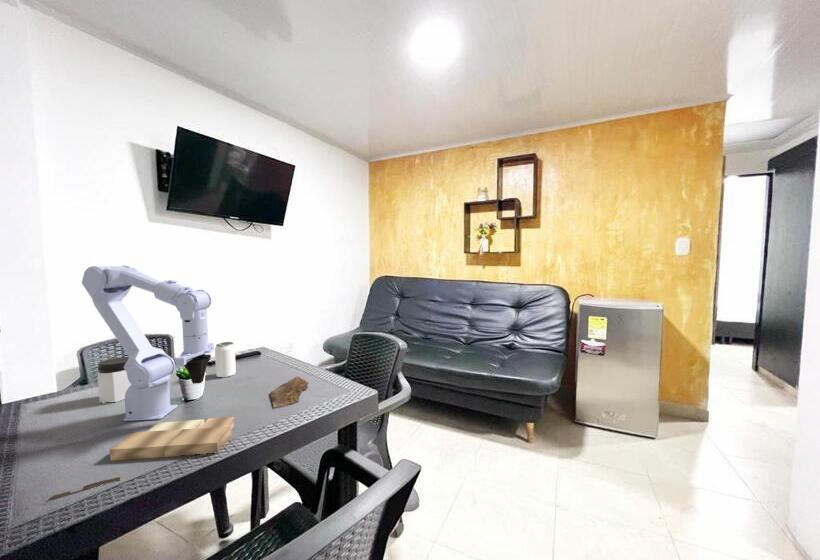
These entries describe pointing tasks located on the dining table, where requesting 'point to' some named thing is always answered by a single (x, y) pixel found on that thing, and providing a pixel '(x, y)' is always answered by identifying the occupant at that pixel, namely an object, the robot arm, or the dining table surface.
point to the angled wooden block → (175, 441)
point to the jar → (112, 380)
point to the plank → (177, 425)
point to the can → (225, 359)
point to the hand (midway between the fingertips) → (197, 382)
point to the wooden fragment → (288, 392)
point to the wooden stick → (85, 488)
